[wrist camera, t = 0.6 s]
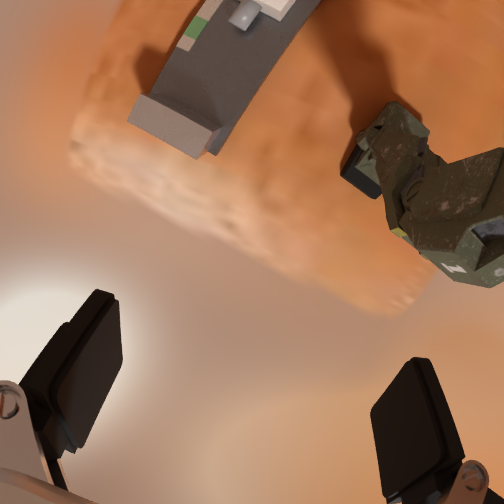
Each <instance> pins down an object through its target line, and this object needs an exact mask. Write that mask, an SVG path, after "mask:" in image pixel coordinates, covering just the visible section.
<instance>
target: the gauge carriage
mask: <svg viewBox="0 0 504 504" xmlns="http://www.w3.org/2000/svg"><path fill="white" fill-rule="evenodd" d="M238 1H240V2H241V3H240V4H239V6H238V7H237V8H236V10H235V11H234V13H233V14H232V15H231V17H230V18H229V20H228V21H227V22H228V23H230V24H231V25H233V26H234V27H236V28H238V29H241V30H243V31H246V29H247V28H248V26H249V25H250V24H251V22H252V21H253V19H254V18H255V17H256V15H257V14H258V13H259V11H261V12H263V13H265V14H267V15H269V16H271V17H273V18H274V19H276V20H278V21H281V20H282V18H283V17H284V16H285V14H286V13H287V12H288V10H289V9H290V8H291V6H292V5H293V4H294V3H295V1H296V0H238Z"/></svg>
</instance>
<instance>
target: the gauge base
mask: <svg viewBox="0 0 504 504" xmlns="http://www.w3.org/2000/svg"><path fill="white" fill-rule="evenodd" d="M321 1H322V0H296V1H295V3H294V4H293V5H292V6H291V8H290V9H289V10H288V12H287V13H286V14H285V16H284V17H283V18H282V20H281V21H278V20H276V19H274V18H273V17H271V16H269V15H267V14H265V13H263V12H261V11H259V13H258V14H257V15H256V17H255V18H254V19H253V21H252V22H251V24H250V25H249V26H248V28H247V29H246V31H243V30H241V29H238V28H236V27H234V26H233V25H231V24H230V23H228V22H227V21H228V20H229V18H230V17H231V15H232V14H233V13H234V11H235V10H236V8H237V7H238V6H239V4H240V3H241V2H240V1H238V0H206V1H205V3H204V4H203V6H202V7H201V8H200V10H199V11H198V13H197V14H196V15H195V17H194V18H193V20H192V21H191V23H190V24H189V26H188V27H187V29H186V30H185V32H184V33H183V36H182V37H181V39H180V40H179V42H178V44H177V45H176V47H175V49H174V51H173V52H172V54H171V56H170V57H169V59H168V61H167V62H166V64H165V66H164V68H163V69H162V71H161V73H160V75H159V77H158V78H157V80H156V82H155V84H154V86H153V88H152V89H151V91H150V93H140V95H139V97H138V99H137V101H136V103H135V105H134V107H133V109H132V111H131V113H130V115H129V117H128V120H127V122H129V123H131V124H133V125H135V126H137V127H139V128H140V129H142V130H144V131H146V132H148V133H150V134H151V135H153V136H155V137H157V138H159V139H161V140H162V141H164V142H166V143H168V144H169V145H171V146H173V147H175V148H177V149H178V150H180V151H182V152H184V153H185V154H187V155H189V156H191V157H192V158H194V159H196V160H197V159H198V158H200V157H201V156H202V155H204V154H205V153H206V152H210V153H212V154H213V155H215V156H216V155H217V154H218V153H219V152H220V150H221V148H222V147H223V145H224V143H225V142H226V140H227V138H228V137H229V135H230V134H231V132H232V130H233V129H234V127H235V126H236V124H237V122H238V121H239V119H240V118H241V116H242V114H243V113H244V111H245V110H246V108H247V107H248V105H249V103H250V102H251V100H252V99H253V97H254V96H255V94H256V93H257V91H258V90H259V88H260V87H261V85H262V84H263V82H264V81H265V79H266V78H267V76H268V75H269V73H270V72H271V70H272V69H273V67H274V66H275V64H276V63H277V61H278V60H279V58H280V57H281V56H282V54H283V53H284V51H285V50H286V48H287V47H288V46H289V44H290V43H291V41H292V40H293V39H294V37H295V36H296V35H297V33H298V32H299V30H300V29H301V28H302V26H303V25H304V24H305V22H306V21H307V20H308V18H309V17H310V16H311V14H312V13H313V12H314V10H315V9H316V8H317V6H318V5H319V4H320V2H321Z"/></svg>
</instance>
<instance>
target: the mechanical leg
mask: <svg viewBox="0 0 504 504" xmlns="http://www.w3.org/2000/svg"><path fill="white" fill-rule="evenodd" d="M429 134H430V131H429V130H428V129H427V128H426V127H425V126H424V125H423V124H422V123H421V122H420V121H419V120H417V119H416V118H415V117H414V116H413V115H412V114H411V113H410V112H408V111H407V110H406V109H405V108H404V107H403V106H401V105H400V104H399V103H398V102H397V101H393V102H389V103H387V105H386V106H385V108H384V109H383V110H382V112H381V113H380V115H379V116H378V117H377V119H376V120H375V121H372V123H371V124H370V126H369V127H368V128H367V129H366V130H365V131H363V132H362V131H360V133H359V134H358V135H357V137H356V138H355V139H356V142H357V145H356V147H355V148H354V150H353V152H352V154H351V155H350V157H349V159H348V161H347V163H346V164H345V166H344V168H343V170H342V171H341V173H340V176H341V177H342V178H344V179H345V180H347V181H348V182H349V183H351V184H352V185H354V186H355V187H356V188H358V189H359V190H360V191H362V192H363V193H364V194H366V195H367V196H368V197H370V198H372V199H377V198H378V197H379V196H380V195H381V194H383V198H384V202H385V211H386V219H387V222H388V225H389V229H390V231H391V232H393V233H394V234H395V235H396V236H398V237H402V238H403V239H404V240H406V241H407V242H408V243H409V244H411V245H412V246H413V247H414V248H415V249H417V250H418V251H419V254H420V255H421V256H423V257H424V258H425V259H426V260H430V261H431V262H432V263H433V264H435V265H436V266H437V267H438V268H439V269H441V270H442V271H443V272H444V273H445V274H446V275H447V276H449V277H450V278H451V279H452V280H453V281H457V282H462V283H466V284H471V285H476V286H482V287H486V288H492V287H494V286H496V285H498V284H500V283H501V282H503V281H504V148H501V147H499V148H496V149H493V150H490V151H487V152H484V153H481V154H478V155H475V156H472V157H468V158H465V159H462V160H459V161H456V162H453V163H449V164H447V163H446V162H445V161H444V160H443V159H442V158H441V157H440V156H438V155H436V154H434V153H433V152H432V151H431V150H430V149H429V145H428V144H427V140H428V136H429Z"/></svg>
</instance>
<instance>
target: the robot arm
mask: <svg viewBox="0 0 504 504" xmlns="http://www.w3.org/2000/svg"><path fill="white" fill-rule="evenodd" d="M122 361H123V355H122V344H121V329H120V311H119V301H118V300H116V299H115V298H114V294H112V293H109V292H106V291H102V290H99V289H95V290H94V291H93V292H92V294H91V295H90V296H89V297H88V299H87V300H86V301H85V302H84V304H83V305H82V306H81V307H80V309H79V310H78V311H77V313H76V314H75V315H74V316H73V318H72V319H71V320H70V322H65V323H63V324H62V325H61V326H60V327H59V329H58V330H57V331H56V333H55V334H54V335H53V337H52V338H51V339H50V341H49V342H48V343H47V345H46V346H45V347H44V349H43V350H42V352H41V353H40V354H39V356H38V357H37V359H36V360H35V361H34V363H33V364H32V366H31V367H30V369H29V370H28V371H27V373H26V374H25V376H24V377H23V379H22V380H21V382H20V383H19V384H18V385H17V384H16V383H14V382H11V381H0V504H97V503H95V502H93V501H89V500H88V499H85V498H83V497H80V496H78V495H76V494H73V493H72V491H71V489H70V486H69V484H68V481H67V478H66V476H65V473H64V470H63V467H62V465H61V462H60V459H59V458H61V456H62V454H63V452H64V450H67V451H69V452H71V453H74V454H75V452H76V450H77V448H82V447H83V446H84V444H85V442H86V440H87V438H88V435H89V433H90V431H91V429H92V427H93V425H94V422H95V420H96V418H97V416H98V414H99V412H100V409H101V407H102V405H103V403H104V401H105V399H106V397H107V395H108V393H109V391H110V389H111V387H112V384H113V382H114V380H115V378H116V376H117V374H118V372H119V370H120V368H121V365H122ZM370 417H371V423H372V428H373V434H374V440H375V446H376V452H377V459H378V465H379V472H380V479H381V487H382V493H383V496H384V497H385V498H386V501H387V504H395V503H400V502H402V504H504V499H503V498H502V497H500V496H499V495H498V494H496V493H495V492H494V491H492V490H491V489H489V488H488V485H489V475H488V473H487V470H486V469H485V467H484V466H483V465H482V464H481V463H479V462H478V461H475V460H469V461H466V462H465V463H462V459H464V458H465V454H464V450H463V447H462V444H461V441H460V438H459V435H458V432H457V429H456V426H455V423H454V420H453V417H452V415H451V412H450V409H449V406H448V403H447V401H446V398H445V395H444V393H443V390H442V388H441V385H440V383H439V380H438V378H437V375H436V373H435V371H434V368H433V365H432V363H431V361H430V360H429V359H427V358H419V357H413V358H411V359H410V361H407V362H406V363H405V364H404V366H403V367H402V369H401V370H400V371H399V373H398V374H397V376H396V377H395V378H394V380H393V381H392V382H391V384H390V385H389V386H388V388H387V389H386V390H385V392H384V393H383V394H382V395H381V397H380V398H379V399H378V401H377V402H376V403H375V404H374V406H373V407H372V409H371V412H370Z"/></svg>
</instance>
